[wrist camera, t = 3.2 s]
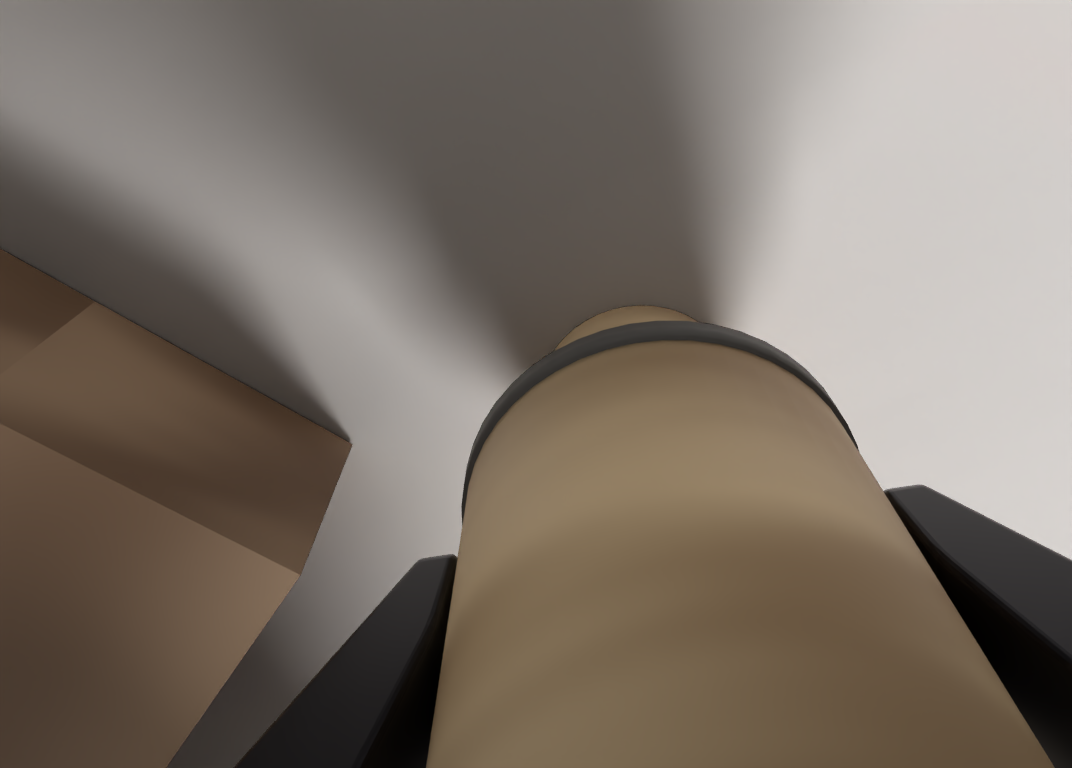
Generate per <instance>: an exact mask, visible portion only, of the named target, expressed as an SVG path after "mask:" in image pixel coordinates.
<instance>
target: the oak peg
mask: <svg viewBox="0 0 1072 768" xmlns="http://www.w3.org/2000/svg"><path fill="white" fill-rule="evenodd" d="M426 768H1055V767H1054V766H1053V764H1052V762H1051V761H1050V759H1049V758H1048V756H1047V754H1046V753H1045V751H1044V749H1043V748H1042V746H1041V745H1040V743H1039V741H1038V740H1037V738H1036V737H1035V735H1034V733H1033V732H1032V730H1031V729H1030V727H1029V725H1028V724H1027V722H1026V720H1025V719H1024V717H1023V716H1022V714H1021V712H1020V711H1019V709H1018V708H1017V706H1016V704H1015V703H1014V701H1013V700H1012V698H1011V696H1010V695H1009V693H1008V691H1007V690H1006V688H1005V687H1004V685H1003V683H1002V682H1001V680H1000V679H999V677H998V675H997V674H996V672H995V671H994V669H993V667H992V666H991V664H990V662H989V661H988V659H987V658H986V656H985V654H984V653H983V651H982V650H981V648H980V646H979V645H978V643H977V642H976V640H975V638H974V637H973V635H972V633H971V632H970V630H969V629H968V627H967V625H966V624H965V622H964V621H963V619H962V617H961V616H960V614H959V613H958V611H957V609H956V608H955V606H954V604H953V603H952V601H951V600H950V598H949V596H948V595H947V593H946V592H945V590H944V588H943V587H942V585H941V584H940V582H939V580H938V579H937V577H936V575H935V574H934V572H933V571H932V569H931V567H930V566H929V564H928V563H927V561H926V559H925V558H924V556H923V555H922V553H921V551H920V550H919V548H918V546H917V545H916V543H915V542H914V540H913V538H912V537H911V535H910V534H909V532H908V530H907V529H906V527H905V526H904V524H903V522H902V521H901V519H900V517H899V516H898V514H897V513H896V511H895V509H894V508H893V506H892V505H891V503H890V501H889V500H888V498H887V497H886V495H885V493H884V492H883V490H882V488H881V487H880V485H879V484H878V482H877V480H876V479H875V477H874V476H873V474H872V472H871V471H870V469H869V468H868V466H867V464H866V463H865V461H864V459H863V458H862V456H861V455H860V453H859V450H858V446H857V444H856V442H855V439H854V437H853V435H852V433H851V431H850V429H849V427H848V424H847V423H846V421H845V420H844V418H843V417H842V415H841V413H840V412H839V410H838V409H837V407H836V406H835V404H834V403H833V401H832V400H831V398H830V397H829V395H828V394H827V392H826V391H825V389H824V388H823V387H822V386H821V385H820V384H819V382H818V381H817V380H816V379H815V378H814V377H813V376H812V375H811V374H810V373H809V372H808V371H807V370H806V369H805V368H804V367H802V366H801V365H800V364H799V363H797V362H796V361H795V360H794V359H792V358H791V357H790V356H788V355H787V354H786V353H784V352H782V351H780V350H779V349H777V348H775V347H773V346H772V345H770V344H768V343H767V342H765V341H762V340H760V339H758V338H755V337H753V336H750V335H748V334H745V333H743V332H740V331H737V330H733V329H729V328H725V327H722V326H718V325H714V324H707V323H699V322H698V321H696V320H694V319H693V318H691V317H689V316H687V315H685V314H682V313H680V312H677V311H675V310H671V309H667V308H663V307H656V306H628V307H621V308H617V309H613V310H609V311H606V312H604V313H601V314H598V315H596V316H594V317H592V318H590V319H588V320H586V321H585V322H583V323H582V324H580V325H579V326H577V327H576V328H575V329H573V330H572V331H571V332H570V333H569V334H568V335H567V336H566V337H565V338H564V339H563V340H562V341H561V342H560V343H559V345H558V346H557V347H556V349H555V350H554V351H553V352H552V353H550V354H549V355H547V356H546V357H544V358H543V359H542V360H540V361H539V362H537V363H536V364H534V365H533V366H531V367H530V368H529V369H528V370H527V371H526V372H524V373H523V374H522V375H521V376H520V377H519V378H518V379H517V380H515V381H514V382H513V383H512V384H511V385H510V386H509V388H508V389H507V390H506V391H505V392H504V393H503V395H502V396H501V397H500V398H499V399H498V400H497V402H496V403H495V404H494V406H493V407H492V409H491V410H490V412H489V414H488V415H487V417H486V418H485V420H484V421H483V423H482V425H481V428H480V430H479V432H478V434H477V436H476V439H475V441H474V443H473V446H472V450H471V453H470V457H469V461H468V464H467V470H466V476H465V482H464V490H463V499H462V532H461V539H460V546H459V552H458V559H457V566H456V572H455V579H454V585H453V592H452V599H451V605H450V612H449V619H448V625H447V632H446V638H445V645H444V652H443V658H442V665H441V672H440V678H439V685H438V691H437V698H436V705H435V711H434V718H433V725H432V731H431V738H430V744H429V751H428V758H427V764H426Z"/></svg>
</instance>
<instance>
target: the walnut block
mask: <svg viewBox="0 0 1072 768" xmlns="http://www.w3.org/2000/svg"><path fill="white" fill-rule="evenodd" d="M351 447H352V444H351V443H349V442H347V441H346V440H344V439H342V438H340V437H338V436H337V435H335V434H333V433H331V432H329V431H328V430H326V429H324V428H322V427H320V426H319V425H317V424H315V423H313V422H311V421H310V420H308V419H306V418H304V417H302V416H301V415H299V414H297V413H295V412H293V411H292V410H290V409H288V408H286V407H284V406H283V405H281V404H279V403H277V402H275V401H274V400H272V399H270V398H268V397H266V396H265V395H263V394H261V393H259V392H257V391H256V390H254V389H252V388H250V387H248V386H247V385H245V384H243V383H241V382H239V381H238V380H236V379H234V378H232V377H230V376H229V375H227V374H225V373H223V372H221V371H220V370H218V369H216V368H214V367H212V366H211V365H209V364H207V363H205V362H203V361H202V360H200V359H198V358H196V357H194V356H193V355H191V354H189V353H187V352H185V351H184V350H182V349H180V348H178V347H176V346H175V345H173V344H171V343H169V342H167V341H166V340H164V339H162V338H160V337H158V336H157V335H155V334H153V333H151V332H149V331H148V330H146V329H144V328H142V327H140V326H139V325H137V324H135V323H133V322H131V321H129V320H128V319H126V318H124V317H122V316H120V315H119V314H117V313H115V312H113V311H111V310H110V309H108V308H106V307H104V306H102V305H101V304H99V303H97V302H95V301H93V300H92V299H90V298H88V297H86V296H84V295H83V294H81V293H79V292H77V291H75V290H74V289H72V288H70V287H68V286H66V285H65V284H63V283H61V282H59V281H57V280H56V279H54V278H52V277H50V276H48V275H47V274H45V273H43V272H41V271H39V270H38V269H36V268H34V267H32V266H30V265H29V264H27V263H25V262H23V261H21V260H20V259H18V258H16V257H14V256H12V255H11V254H9V253H7V252H5V251H3V250H2V249H0V768H166V767H167V766H168V764H169V763H170V761H171V760H172V758H173V757H174V756H175V754H176V753H177V751H178V750H179V748H180V747H181V746H182V744H183V743H184V741H185V740H186V738H187V737H188V736H189V734H190V733H191V731H192V730H193V728H194V727H195V726H196V724H197V723H198V721H199V720H200V718H201V717H202V716H203V714H204V713H205V711H206V710H207V708H208V707H209V706H210V704H211V703H212V701H213V700H214V698H215V697H216V695H217V694H218V693H219V691H220V690H221V688H222V687H223V685H224V684H225V683H226V681H227V680H228V678H229V677H230V675H231V674H232V673H233V671H234V670H235V668H236V667H237V665H238V664H239V663H240V661H241V660H242V658H243V657H244V655H245V654H246V653H247V651H248V650H249V648H250V647H251V645H252V644H253V643H254V641H255V640H256V638H257V637H258V635H259V634H260V632H261V631H262V630H263V628H264V627H265V625H266V624H267V622H268V621H269V620H270V618H271V617H272V615H273V614H274V612H275V611H276V610H277V608H278V607H279V605H280V604H281V602H282V601H283V600H284V598H285V597H286V595H287V594H288V592H289V591H290V590H291V588H292V587H293V585H294V584H295V582H296V581H297V580H298V578H299V577H300V575H301V573H302V570H303V568H304V565H305V563H306V560H307V558H308V555H309V553H310V550H311V548H312V545H313V543H314V540H315V537H316V535H317V532H318V530H319V527H320V525H321V522H322V520H323V517H324V515H325V512H326V510H327V507H328V505H329V502H330V500H331V497H332V495H333V492H334V490H335V487H336V485H337V482H338V480H339V477H340V474H341V472H342V469H343V467H344V464H345V462H346V459H347V457H348V454H349V452H350V449H351Z"/></svg>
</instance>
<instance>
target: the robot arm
mask: <svg viewBox="0 0 1072 768" xmlns="http://www.w3.org/2000/svg"><path fill="white" fill-rule="evenodd" d="M884 493H885V495H886V497H887V498H888V500H889V501H890V503H891V505H892V506H893V508H894V509H895V511H896V513H897V514H898V516H899V517H900V519H901V521H902V522H903V524H904V526H905V527H906V529H907V530H908V532H909V534H910V535H911V537H912V538H913V540H914V542H915V543H916V545H917V546H918V548H919V550H920V551H921V553H922V555H923V556H924V558H925V559H926V561H927V563H928V564H929V566H930V567H931V569H932V571H933V572H934V574H935V575H936V577H937V579H938V580H939V582H940V584H941V585H942V587H943V588H944V590H945V592H946V593H947V595H948V596H949V598H950V600H951V601H952V603H953V604H954V606H955V608H956V609H957V611H958V613H959V614H960V616H961V617H962V619H963V621H964V622H965V624H966V625H967V627H968V629H969V630H970V632H971V633H972V635H973V637H974V638H975V640H976V642H977V643H978V645H979V646H980V648H981V650H982V651H983V653H984V654H985V656H986V658H987V659H988V661H989V662H990V664H991V666H992V667H993V669H994V671H995V672H996V674H997V675H998V677H999V679H1000V680H1001V682H1002V683H1003V685H1004V687H1005V688H1006V690H1007V691H1008V693H1009V695H1010V696H1011V698H1012V700H1013V701H1014V703H1015V704H1016V706H1017V708H1018V709H1019V711H1020V712H1021V714H1022V716H1023V717H1024V719H1025V720H1026V722H1027V724H1028V725H1029V727H1030V729H1031V730H1032V732H1033V733H1034V735H1035V737H1036V738H1037V740H1038V741H1039V743H1040V745H1041V746H1042V748H1043V749H1044V751H1045V753H1046V754H1047V756H1048V758H1049V759H1050V761H1051V762H1052V764H1053V766H1054V767H1055V768H1072V560H1070V559H1068V558H1066V557H1065V556H1063V555H1061V554H1059V553H1057V552H1055V551H1053V550H1051V549H1049V548H1047V547H1045V546H1043V545H1041V544H1039V543H1037V542H1035V541H1033V540H1031V539H1029V538H1027V537H1025V536H1023V535H1021V534H1019V533H1017V532H1015V531H1013V530H1011V529H1009V528H1008V527H1006V526H1004V525H1002V524H1000V523H998V522H996V521H994V520H992V519H990V518H988V517H986V516H984V515H982V514H980V513H978V512H976V511H974V510H972V509H970V508H968V507H966V506H964V505H962V504H960V503H958V502H956V501H954V500H952V499H951V498H949V497H947V496H945V495H943V494H941V493H939V492H937V491H935V490H933V489H931V488H929V487H926V486H924V485H912V486H906V487H899V488H892V489H887V490H885V491H884ZM457 559H458V558H457V557H456V556H455V555H453V554H449V555H442V556H436V557H429V558H423V559H420V560H419V561H418V562H416V563H415V564H414V565H413V567H412V568H411V569H410V570H409V571H408V572H407V573H406V574H405V576H404V577H403V578H402V579H401V580H400V581H399V582H398V583H397V585H396V586H395V587H394V588H393V589H392V590H391V591H390V592H389V594H388V595H387V596H386V597H385V598H384V599H383V600H382V601H381V603H380V604H379V605H378V606H377V607H376V608H375V609H374V610H373V612H372V613H371V614H370V615H369V616H368V617H367V618H366V619H365V621H364V622H363V623H362V624H361V625H360V626H359V627H358V628H357V630H356V631H355V632H354V633H353V634H352V635H351V636H350V637H349V639H348V640H347V641H346V642H345V643H344V644H343V645H342V646H341V648H340V649H339V650H338V651H337V652H336V653H335V654H334V655H333V657H332V658H331V659H330V660H329V661H328V662H327V663H326V664H325V666H324V667H323V668H322V669H321V670H320V671H319V672H318V673H317V675H316V676H315V677H314V678H313V679H312V680H311V681H310V682H309V684H308V685H307V686H306V687H305V688H304V689H303V690H302V691H301V693H300V694H299V695H298V696H297V697H296V698H295V699H294V700H293V702H292V703H291V704H290V705H289V706H288V707H287V708H286V709H285V711H284V712H283V713H282V714H281V715H280V716H279V717H278V718H277V720H276V721H275V722H274V723H273V724H272V725H271V726H270V727H269V729H268V730H267V731H266V732H265V733H264V734H263V735H262V736H261V738H260V739H259V740H258V741H257V742H256V743H255V744H254V745H253V747H252V748H251V749H250V750H249V751H248V752H247V753H246V754H245V756H244V757H243V758H242V759H241V760H240V761H239V762H238V763H237V765H236V766H235V767H234V768H426V764H427V758H428V751H429V744H430V738H431V731H432V725H433V718H434V711H435V705H436V698H437V691H438V685H439V678H440V672H441V665H442V658H443V652H444V645H445V638H446V632H447V625H448V619H449V612H450V605H451V599H452V592H453V585H454V579H455V572H456V566H457Z"/></svg>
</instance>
